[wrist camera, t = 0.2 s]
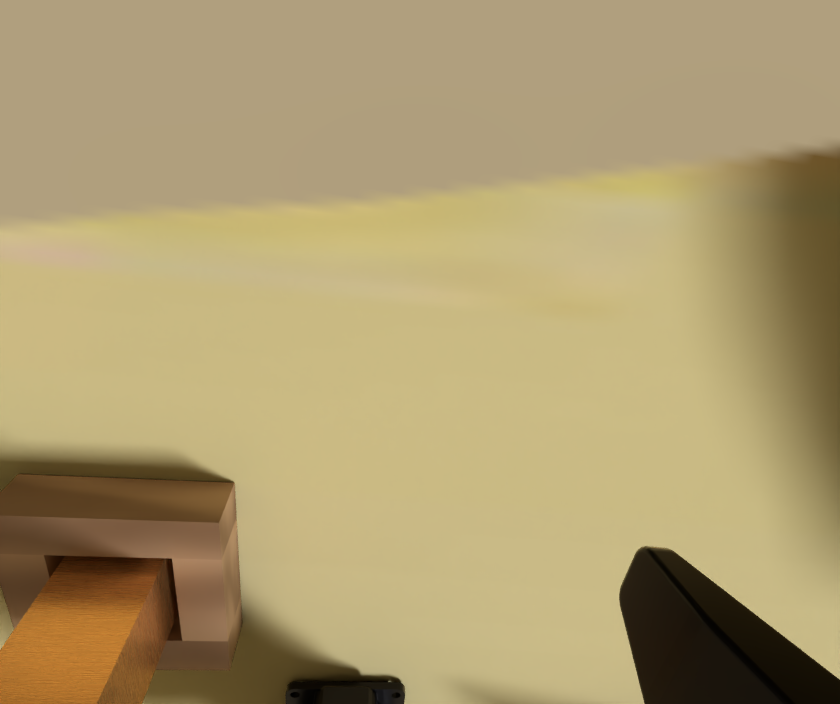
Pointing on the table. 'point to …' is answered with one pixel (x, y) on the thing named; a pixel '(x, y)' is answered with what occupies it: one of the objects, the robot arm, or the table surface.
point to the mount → (132, 549)
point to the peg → (91, 633)
